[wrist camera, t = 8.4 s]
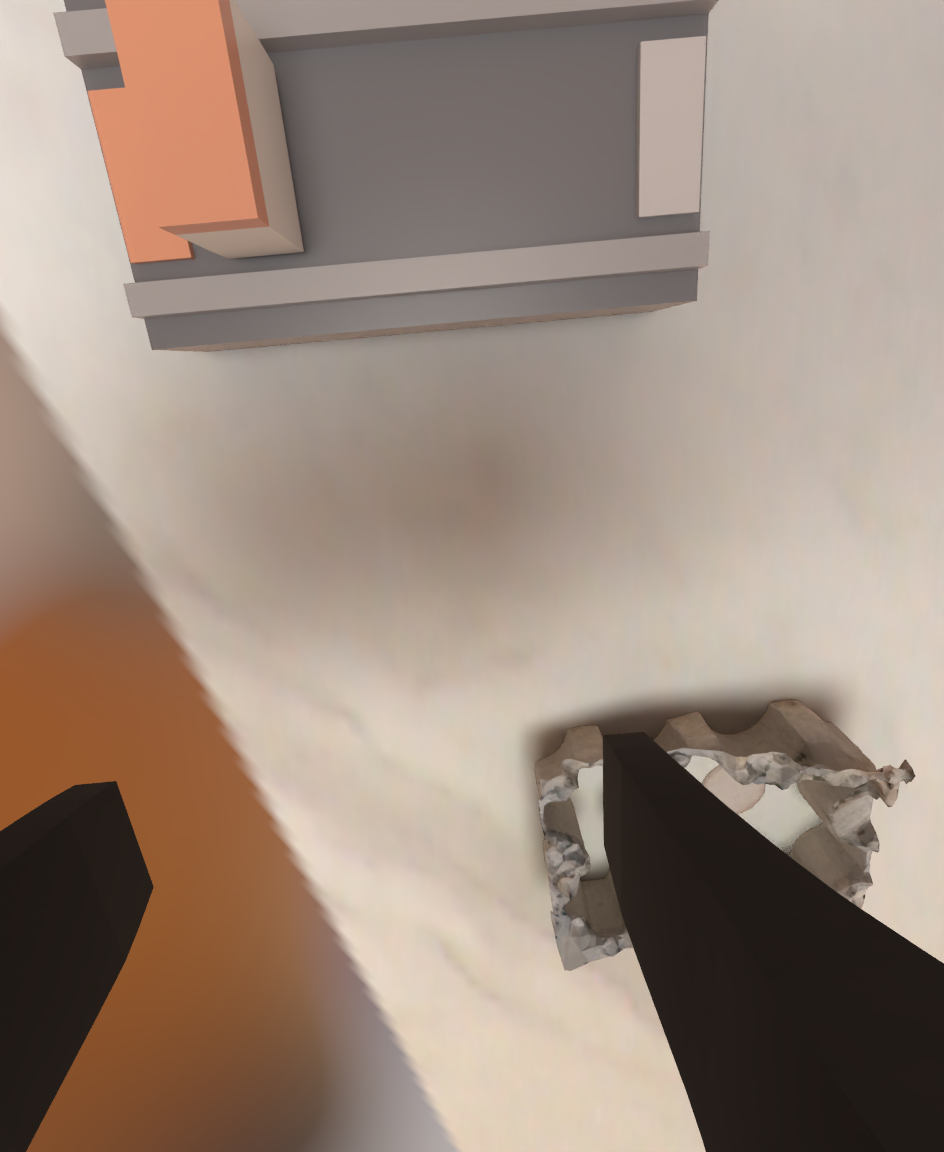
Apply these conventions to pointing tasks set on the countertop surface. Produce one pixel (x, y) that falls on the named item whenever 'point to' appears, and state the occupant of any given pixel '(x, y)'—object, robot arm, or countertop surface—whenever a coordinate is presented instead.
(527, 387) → the countertop surface
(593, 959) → the egg carton
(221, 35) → the breaker handle
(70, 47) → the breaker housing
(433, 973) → the countertop surface
